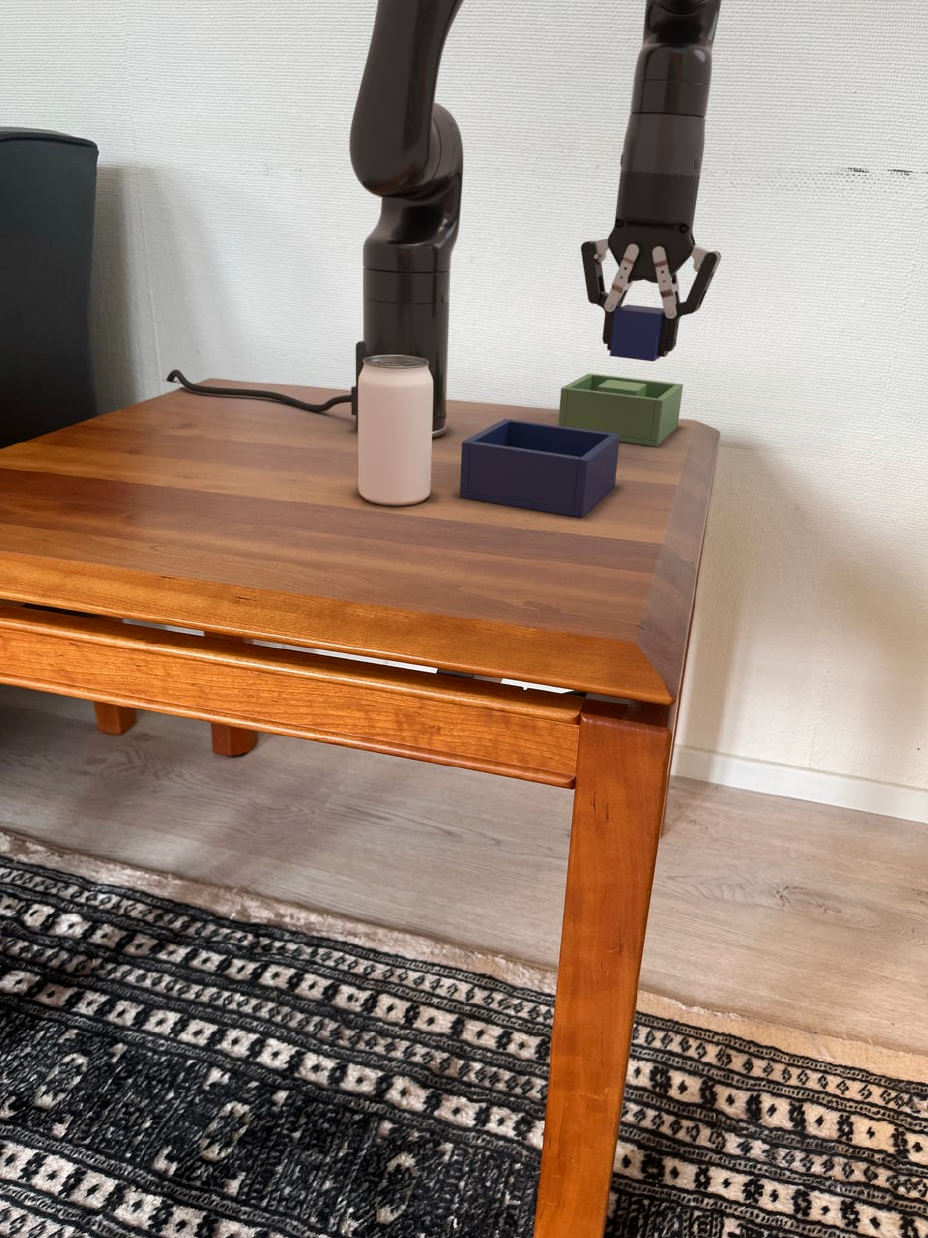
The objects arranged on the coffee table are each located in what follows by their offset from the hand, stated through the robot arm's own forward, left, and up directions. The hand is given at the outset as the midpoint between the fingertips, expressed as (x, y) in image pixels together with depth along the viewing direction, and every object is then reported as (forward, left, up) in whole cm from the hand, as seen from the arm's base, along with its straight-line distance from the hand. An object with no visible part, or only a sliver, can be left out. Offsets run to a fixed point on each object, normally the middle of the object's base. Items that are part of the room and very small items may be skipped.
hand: (637, 351), depth 101 cm
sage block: (-4, +10, -10) cm, 15 cm away
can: (-15, -26, -11) cm, 31 cm away
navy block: (0, 0, 0) cm, 0 cm away
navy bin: (-4, -18, -11) cm, 21 cm away
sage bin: (-4, +10, -11) cm, 15 cm away
